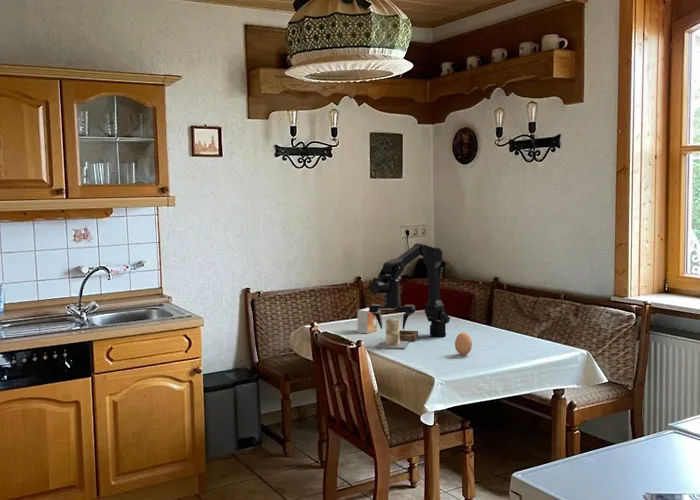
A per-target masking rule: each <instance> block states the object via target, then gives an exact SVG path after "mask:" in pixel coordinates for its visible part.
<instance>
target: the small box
mask: <svg viewBox="0 0 700 500" xmlns="http://www.w3.org/2000/svg"><path fill="white" fill-rule="evenodd" d="M356 312H357V333H359V334H370V333H375V332H377V331H378V320H377V318H376V316H375V315H373V314H372V313H373V312H369V307H366V308H365V307H364V308H362V309H357V311H356Z"/></svg>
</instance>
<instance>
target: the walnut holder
mask: <svg viewBox="0 0 700 500" xmlns="http://www.w3.org/2000/svg"><path fill="white" fill-rule="evenodd" d="M418 338H419V331H418V330H405V329H404V330H403V329H402V330H400V341H409V342H416V341H417V339H418Z"/></svg>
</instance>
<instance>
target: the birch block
mask: <svg viewBox="0 0 700 500" xmlns="http://www.w3.org/2000/svg"><path fill="white" fill-rule="evenodd" d="M385 341H386V345H398V344H399V343H400V319H397V318H396V319H395V318H387V319H386V320H385Z"/></svg>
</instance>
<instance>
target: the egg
mask: <svg viewBox="0 0 700 500" xmlns="http://www.w3.org/2000/svg"><path fill="white" fill-rule="evenodd" d="M454 347H455V351H456V352H457V353H458V355H460V356H467V355H468V354H469V353H471V351H472V347H473V342H472V338H471V337H470V335H469V334H468V333H467V332H466V331H465V332H464V331H462V332H460V333H458V334H457V336H456V338H455V341H454Z"/></svg>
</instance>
